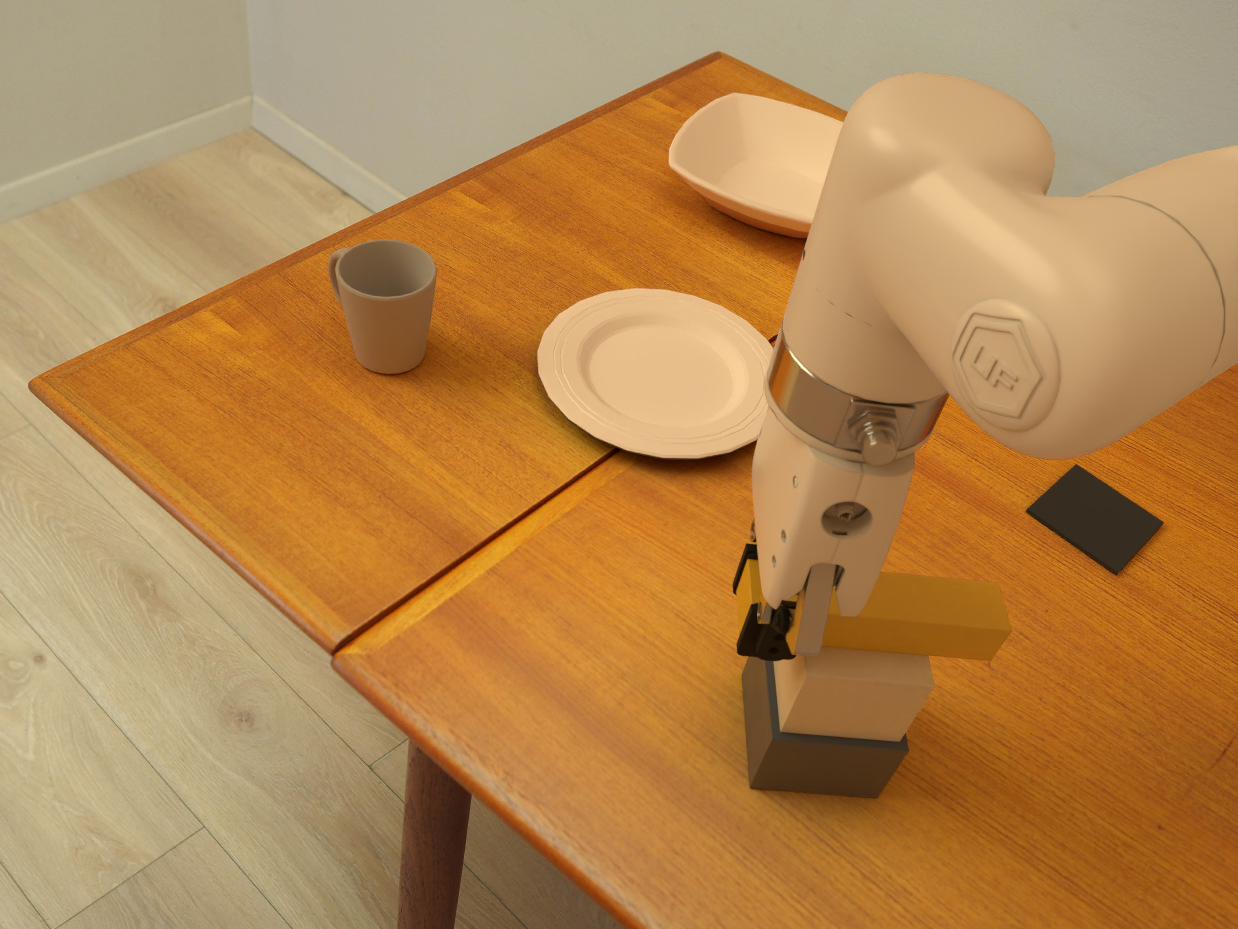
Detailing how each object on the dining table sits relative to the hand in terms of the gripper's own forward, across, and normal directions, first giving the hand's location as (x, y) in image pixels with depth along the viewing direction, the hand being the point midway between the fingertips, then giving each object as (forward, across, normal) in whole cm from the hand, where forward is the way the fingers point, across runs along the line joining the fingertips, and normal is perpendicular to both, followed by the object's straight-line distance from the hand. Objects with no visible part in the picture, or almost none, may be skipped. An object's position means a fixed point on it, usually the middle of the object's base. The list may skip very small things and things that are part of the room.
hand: (762, 621), depth 58 cm
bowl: (+12, +62, -8) cm, 64 cm away
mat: (+12, +21, -31) cm, 39 cm away
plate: (+12, +32, +4) cm, 34 cm away
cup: (+12, +32, +27) cm, 44 cm away
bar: (0, 0, -6) cm, 6 cm away
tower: (+12, 0, -6) cm, 13 cm away
